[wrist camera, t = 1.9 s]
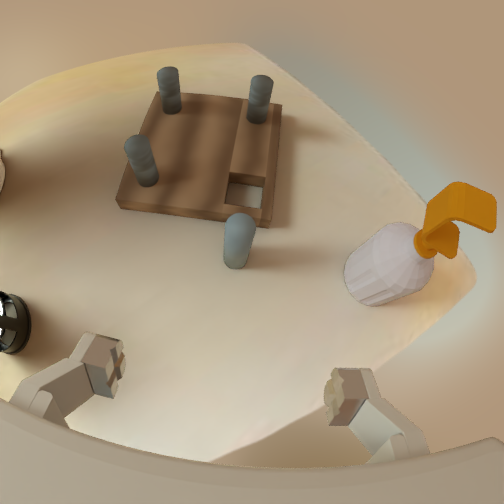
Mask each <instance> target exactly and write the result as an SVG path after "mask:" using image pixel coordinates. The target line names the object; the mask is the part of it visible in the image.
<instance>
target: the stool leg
mask: <svg viewBox="0 0 504 504" xmlns="http://www.w3.org/2000/svg"><path fill="white" fill-rule="evenodd" d="M255 231H256V224H255V222H254V220H253V219H252V217H250V216H249V215H247V214H244V213H236V214H233V215H231V216H230V217H229V218H228V219H227V221H226V223H225V238H224V262H225V264H226V265H227V266H228V267H229V268H231V269H240V268H242V267H243V266H244V265H245V264H246V262H247V258H248V255H249V251H250V248H251V245H252V241H253V238H254V234H255Z"/></svg>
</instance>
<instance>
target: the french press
mask: <svg viewBox="0 0 504 504" xmlns="http://www.w3.org/2000/svg"><path fill="white" fill-rule="evenodd" d="M6 302H12V303H13V304H14V306H15V309H16V313H17V319H15V318H11V317H7V316H6V310H5V306H4V303H6ZM5 329H7V330H12V331H17V332H16V335H15V338H14V340H13V342H12V343H11V345H10V346H7V345H5V344H3V343H2V342H1V341H0V352H4V353H6V354H16V353H18V352H20V351H21V350H22V349H23V348H24V347H25V346H26V344H27V342H28V340H29V336H30V332H31V318H30V314H29V310H28V308H27V306H26V304H25V303H24V301H23V300H22V299H21V298H20V297H18V296H16V295H13V294H7V293H4V292H2V291H0V340H1V339H2V337H3V335H4V332H5Z"/></svg>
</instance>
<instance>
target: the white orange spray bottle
mask: <svg viewBox="0 0 504 504" xmlns="http://www.w3.org/2000/svg"><path fill="white" fill-rule="evenodd" d="M496 203H497V202H496V199H495V197H494V196H492V194H489V193H487V192H485V191H483V190H480V189H478V188H476V187H474V186H471V185H469V184H467V183H462V182H453V183H451V184H449V185H448V186H447V187H446V188H445V189H443V190H442V191H441V192H440V193H439V194H437V195H436V196H435V197H434V198H433V199H431V200H430V201H429V202H428V204H427V209H426V215H425V220H424V225H423V229H421V230H419V229H418V228H416V227H414V226H413V225H411V224H407V223H402V222H397V223H392V224H388V225H386V226H384V227H383V228H382V229H381V230H379V231H378V232H377V233H376V234H374V235H373V236H372V237H371V238H370V239H368V240H367V241H366V242H365V243H364V244H362V245H361V246H360V247H359V248H357V249H356V250H355V251H354V252H353V253H351V254H350V256H349V258H348V259H347V261H346V264H345V269H344V277H345V284H346V286H347V288H348V290H349V292H350V294H351V295H352V296H353V297H354V298H355V299H356V300H357V301H359V302H361V303H363V304H365V305H367V306H379V305H381V304H384V303H387V302H390V301H393V300H395V299H398V298H401V297H404V296H406V295H409V294H412V293H414V292H417V291H420V290H421V289H422V288H423V287H424V286H425V285H426V284H427V282H428V281H429V279H430V277H431V275H432V272H433V270H434V256H435V255H436V254H437V252H439V253H441V254H443V255H444V256H446V257H447V258H449V259H452V258H454V257H455V256H456V255H457V249H458V241H459V233H460V232H459V229H458V227H457V225H455V224H454V223H453V222H451V221H454V220H457V221H462V222H464V223H467V224H469V225H472V226H474V227H477V228H479V229H481V230H484V231H486V232H488V233H492V232H493V231H494V230H495V228H496V213H497V212H496V211H497V206H496Z"/></svg>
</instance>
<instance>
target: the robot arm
mask: <svg viewBox="0 0 504 504" xmlns="http://www.w3.org/2000/svg"><path fill="white" fill-rule="evenodd" d="M4 178H5V167H4V164H3V162H2V160H1V150H0V191H1V189H2V186H3V183H4ZM122 349H123V343H122V341H121V340H118V339H114V338H110V337H106V336H103V335H99V334H94V333H91V332H86V333H84V334H83V336H82V338H81V339H80V341H79V342H78V344H77V346H76V347H75V349H74V351H73V352H72V354H71V356H70V357H69V359H68V358H64V359H62V360H61V361H59V362H57V363H55V364H53V365H51V366H49V367H47V368H45V369H43V370H41V371H39V372H37V373H36V374H34V375H32V376H30V377H28V378H26V379H24V380H22V381H21V383H20V385H19V386H18V388H17V389H16V391H15V393H14V394H13V396H12V398H11V399H10V401H9V402H7V401H5V400H3V399H1V398H0V504H504V443H503V442H501V441H500V440H498V439H496V438H494V437H490V438H486V439H483V440H480V441H477V442H473V443H470V444H467V445H463V446H460V447H456V448H453V449H449V450H444V451H440V452H436V453H431V454H430V452H429V449H428V446H427V443H426V440H425V437H424V435H423V432H422V430H421V429H420V428H418V427H417V426H416V425H415V424H414V423H413V422H411V421H410V420H409V419H408V418H407V417H405V416H404V415H403V414H402V413H401V412H400V411H398V410H397V409H396V408H395V407H394V406H393V405H392V404H390V403H389V402H388V401H387V400H386V399H382V398H381V396H380V393H379V390H378V387H377V384H376V381H375V378H374V376H373V373H372V370H371V369H370V368H358V369H357V368H334V369H333V371H332V373H331V378H332V379H330V380H329V381H327V383H326V385H325V389H324V403H325V404H326V405H327V406H328V407H329V408H328V410H327V412H326V414H327V420H328V425H329V426H348V427H349V428H350V429H351V431H352V432H353V433H354V434H355V436H356V437H357V438H358V439H359V440H360V442H361V443H362V444H363V445H364V447H365V448H366V449H367V450H368V451H369V452H370V454H371V455H372V457H371V458H370V459H369V461H367V462H366V463H365V464H364V465H355V466H343V467H325V468H264V467H247V466H235V465H224V464H216V463H208V462H201V461H194V460H188V459H182V458H176V457H171V456H165V455H160V454H156V453H151V452H147V451H142V450H138V449H134V448H130V447H126V446H123V445H119V444H115V443H112V442H108V441H105V440H102V439H98V438H95V437H92V436H89V435H86V434H83V433H80V432H77V431H75V430H72V429H70V428H69V426H68V424H67V423H66V421H65V419H64V418H65V417H66V416H67V415H69V414H70V413H71V412H73V411H74V410H75V409H76V408H78V407H79V406H80V405H82V404H83V403H84V402H86V401H87V400H88V399H89V398H91V397H92V396H93V395H94V394H97V395H100V396H104V397H108V398H113V399H114V396H115V394H116V391H117V389H118V382H117V381H118V380H119V379H121V378H122V376H123V374H124V370H125V355H124V354H123V353H122Z"/></svg>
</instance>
